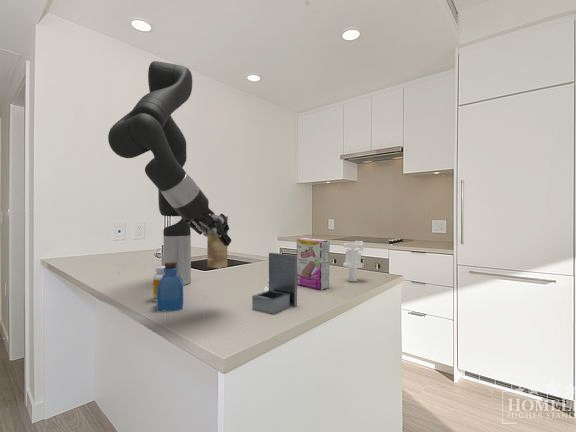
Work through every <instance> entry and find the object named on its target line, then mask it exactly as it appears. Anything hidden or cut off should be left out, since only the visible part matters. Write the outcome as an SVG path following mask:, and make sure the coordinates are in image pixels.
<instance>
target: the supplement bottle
mask: <svg viewBox="0 0 576 432" xmlns="http://www.w3.org/2000/svg"><path fill="white" fill-rule="evenodd" d="M164 268H165V266H162V265H160V266H159V265H158V266H156V267H155V272H156V274H154V275H153V277H152V279H153V282H152V284H153V286H152V289H153V291H152V292H153V293H152V294H153V295H152V296H153V301H154V302H157V288H158V285H159V283H160V281H161V279H162V277H163V275H165V272H164Z"/></svg>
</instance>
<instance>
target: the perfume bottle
mask: <svg viewBox="0 0 576 432" xmlns="http://www.w3.org/2000/svg"><path fill="white" fill-rule="evenodd" d="M176 264H177V263H174V262H171V263H165V268H164V272H165V275H163V277H162V279H161V281H160V283H159V285H158V288H157V304H156V305H157V308H156V310H157V311H160V312H164V311H163V310H172V311H180V310H179V309H182V310H183V309H184V308H183V307H184V285H183V280H182V279H181V277H180V275H179V274H176V272H177V267H176Z"/></svg>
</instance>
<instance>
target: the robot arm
mask: <svg viewBox="0 0 576 432" xmlns="http://www.w3.org/2000/svg"><path fill="white" fill-rule="evenodd" d="M147 75H148V76H147V78H148V80H147V81H148V89H149V90H148V91H149V93H147V94H144V95H143V96H142V97H141V98H140V99H139V100H138V102H137V103H136V104H135V106H134V107H133V109H132V110H131V111H129V112H128V113H126V115H124V116H123V117H122V118H120V119H119V120H118V121H116V122H115V123H114V124H113V125H112V126H111V128H110V129H109V131H108V134H107V139H108V140H107V141H108V145H109V147H110V150H112V151H113V153H114V154H116V155H117V156H118V157H120V158H123V159H134V158H136V157H139V156H141V155H143V154H145V153H147V152H150V151H151V153H152V155H153V158H152V159H151V160H149V162H147V164H146V166H145V167H144V173H145V174H146V176H147V178H148V179H149V180H150V181H151V182H152V183H153V184H154V186H155V187H156V188H157V189H158V210H159V213H160V215H161V216H162V217H181V219H180V220H179V221H178V222H176V223H173V224H171V225H168V226H165V227H163V231H162V233H163V239H162V241H163V243H162V244H163V256H162V258H161V261H162V262H161V263H162V265H161V266H165V263H171V262H174V263H177V264H176V267H177V272H176V274H179V275H180V277H181V279H182V280H183V286H186V285H188V284H191V282H192V265H191V264H192V259H191V258H192V254H191V253H192V248H191V247H192V244H191V242H192V239H191V234H192V233H191V232H192V231H191V229H192V230H194V231H195V232H196V233H197V234H199V235H203V236H204V237H207V229H208V230H209V231H210V232H213V233H214V234H215V235H217V236H218V238H219V239H220V240H221V241H222V242H223V244H224V245H225V246H227V247H229V246H230V244H231V243H232V238H231V237H230V236H229V234H228V233H229V232H228V231H229V230H230V226H229V224H228V220H226V218H225V216H226V215H225V214H223V213H220V214H219V215H217V214H215V212H214V211H213V210H212V209H210V208H209V207H210V206H209V205H210V203H209V202H210V201H209V199H208V198H207V196H206V194H204V192H203V191H202V189H201V188H200V187H199V186H198V184H197V183H196V182H195V181H194V179H193V178H192V176H190V175H189V174H188V173H187V172H186V171H185V169H184V166H185V164H186V162H187V157H188V155H187V139H186V136H184V134H183V132H182V131H181V129H180V128H179V125H178V124H177V123H176V122H175V120H174V118H173V117H172V114H173V113H175V111H176V110H178V109H179V108H180V107H182V105H184V104H185V103H186V102H188V100H189V98H190V97H191V94H192V91H193V75H192V72H191V70H190V68H188V67H187V66H184V65H182V64H176V63H170V62H165V61H158V60H157V61H156V60H154V61H151V63H150V64H149V67H148V70H147ZM214 223H215V224H214ZM213 225H214V226H213ZM212 226H213V227H212ZM211 227H212V228H211ZM217 228H218V230H219V232H218V231H217Z"/></svg>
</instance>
